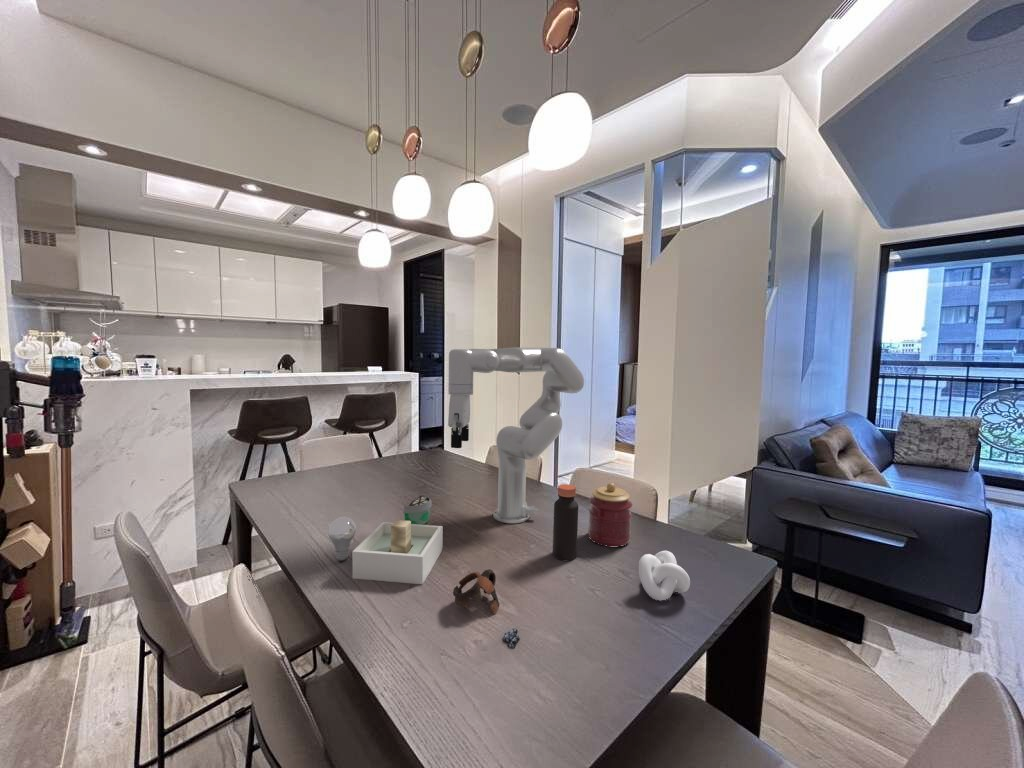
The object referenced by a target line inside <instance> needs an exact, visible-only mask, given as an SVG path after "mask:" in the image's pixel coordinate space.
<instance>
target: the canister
mask: <svg viewBox="0 0 1024 768" xmlns="http://www.w3.org/2000/svg"><path fill="white" fill-rule="evenodd" d="M630 498H631V496H630V494H629V493H628V492H626V491H625V490H624V489H622V488H620V487H616V485H615V484H614V483H613V482H609V483H608V484H607V485H605V486H600V487H598V488H596V489H594V490H593V491H592V496H590V498H589V500H588V501H589V503H590V507H589V509H588V512H589V516H588V528H587V533H588V538H589V537H590V538H591V539H592V540H593V541H595V542H597V543H599V544H602V545H607V546H621V545H625V544H627V543H628V542H629V541H630V540H631V538H632V537H631V534H632V533H631V530H632V529H631V528H632V527H631V524H632V522H631V521H632V517H633V515H632V512H631V508H632V507H633V503H632V501H631V500H630ZM590 538H589V539H590ZM591 539H590V540H591ZM592 540H591V541H592ZM593 541H592V542H593ZM595 542H594V543H595ZM630 542H631V541H630ZM630 542H629V543H630ZM629 543H628V544H629ZM599 544H598V545H599ZM628 544H627V545H628ZM602 545H601V546H602ZM625 546H626V545H625Z"/></svg>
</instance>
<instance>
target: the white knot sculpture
mask: <svg viewBox="0 0 1024 768" xmlns="http://www.w3.org/2000/svg"><path fill="white" fill-rule="evenodd" d="M638 576H639V579H640V583H641V584H642V588H643V589H644V591H645V592H646V593H647V596H649V597H650V598H651V599H652V600H654V599H655V600H654V601H657V600H660V601H659V602H662V601H661V600H665V601H667V600H669V599H670V598H671V597H672V595H673V594H674V593H675V592H678V593H677V594H682V593H686V592H687V591H688V590H689V588H690V586H691V579H690V576H689V574H688V573H687V571H686V570H685V569H684V568H682V566H680V565H679V564H678V563H677V559H676V557H675V555H674V554H673V552H671V551H668V550H662V551H659V552H657V553H656V554H654V555H653V554H651V553H645V554H643V555H642V556H641V557H640V559H639V561H638ZM659 584H660V585H659ZM673 591H675V592H673ZM668 598H669V599H668ZM666 599H667V600H666Z"/></svg>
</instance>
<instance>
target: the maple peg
mask: <svg viewBox="0 0 1024 768" xmlns="http://www.w3.org/2000/svg"><path fill="white" fill-rule="evenodd" d="M392 523H393V524H392V525H391V552H392V553H405V554H408V552H409V551H410V549H411V521H405V519H404V520H403V519H402V520H401V519H396V520H395V521H394V522H392Z"/></svg>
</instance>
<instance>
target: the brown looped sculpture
mask: <svg viewBox="0 0 1024 768" xmlns="http://www.w3.org/2000/svg"><path fill="white" fill-rule="evenodd" d="M496 576H497V575H496V573H495V572H494V570H492V569H485V570H484V571H483V572H482V573H480V572H479V571H474V572H471V573H468V574H467V575H465V576H464V577H462V578H461V579H460V580H459V581H458V583H459V585H460V586H458V585H456V586H455V587H454V588H453V592H452V595H453V596H454V603H455V606H458V607H462V606H463V607H464V608H465V607H466V608H467V609H469V608H470V605H469V604H470V599H471V600H472V601H477V602H480V601H482V600H483V597H482V594H481V593H482V592H481V589H482V590H483V593H484V594H486V595H491V596H492V600H493V601H492V603H491V604H490V606H489V608H490V610H491V613H492V615H493V616H494V615H495V616H496V613H498V610H499V607H500V601H499V598H498V596H497V592H496V588H495V585H496V579H497V577H496ZM473 580H474V581H475V580H476V582H475V583H474V584H473V585H472V586H471V587H470V588H469V589H467V590H466V591H463V592H462V590H463V588H465V586H466V585H467V584H468V583H470V582H472V581H473Z"/></svg>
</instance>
